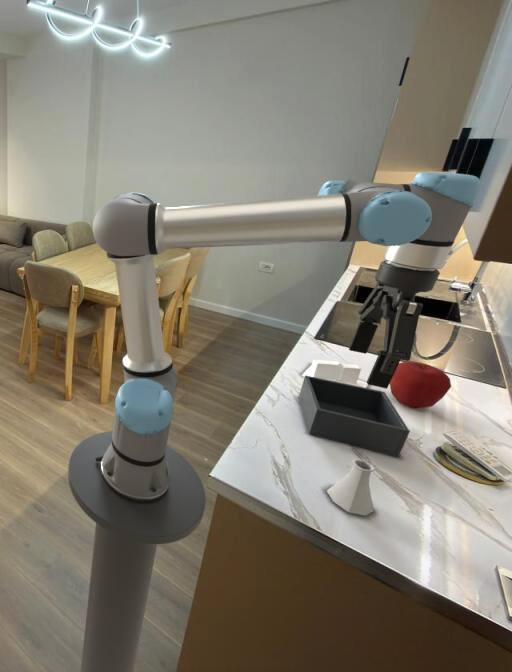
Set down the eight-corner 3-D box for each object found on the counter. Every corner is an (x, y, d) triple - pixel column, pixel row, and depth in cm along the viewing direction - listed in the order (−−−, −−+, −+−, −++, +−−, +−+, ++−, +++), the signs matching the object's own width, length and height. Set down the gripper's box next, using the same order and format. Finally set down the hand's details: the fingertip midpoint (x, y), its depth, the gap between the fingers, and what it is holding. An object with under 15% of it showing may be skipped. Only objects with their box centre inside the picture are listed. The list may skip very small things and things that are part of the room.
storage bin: (309, 434, 103) (317, 409, 100) (298, 397, 117) (305, 375, 114) (398, 457, 95) (410, 431, 92) (375, 415, 109) (384, 391, 106)
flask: (318, 488, 87) (331, 452, 83) (350, 486, 87) (364, 450, 83) (348, 517, 80) (363, 480, 76) (381, 515, 80) (398, 478, 77)
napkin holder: (301, 375, 128) (305, 360, 126) (311, 363, 134) (315, 349, 132) (361, 397, 117) (367, 380, 115) (369, 383, 124) (374, 367, 122)
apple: (442, 406, 113) (461, 366, 108) (434, 422, 106) (453, 380, 102) (386, 386, 122) (401, 348, 117) (375, 400, 115) (391, 361, 111)
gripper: (476, 292, 57) (416, 410, 65) (412, 250, 77) (372, 343, 85) (407, 283, 60) (358, 396, 68) (363, 244, 80) (329, 335, 88)
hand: (366, 367), depth 77 cm, fingers open, 13 cm apart
